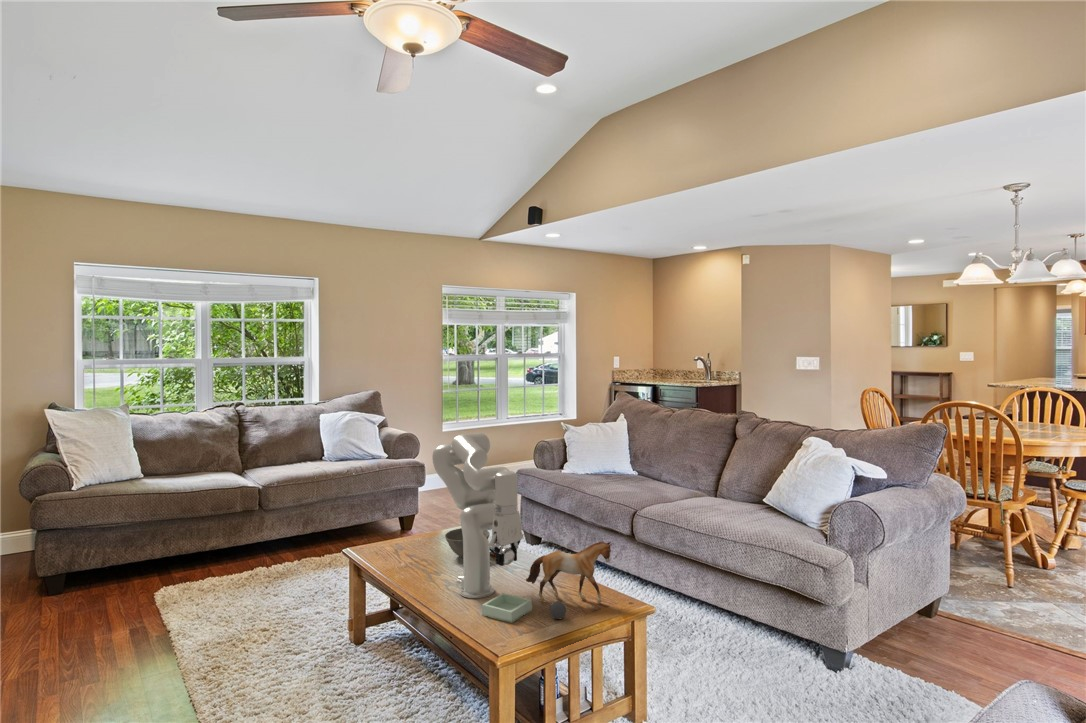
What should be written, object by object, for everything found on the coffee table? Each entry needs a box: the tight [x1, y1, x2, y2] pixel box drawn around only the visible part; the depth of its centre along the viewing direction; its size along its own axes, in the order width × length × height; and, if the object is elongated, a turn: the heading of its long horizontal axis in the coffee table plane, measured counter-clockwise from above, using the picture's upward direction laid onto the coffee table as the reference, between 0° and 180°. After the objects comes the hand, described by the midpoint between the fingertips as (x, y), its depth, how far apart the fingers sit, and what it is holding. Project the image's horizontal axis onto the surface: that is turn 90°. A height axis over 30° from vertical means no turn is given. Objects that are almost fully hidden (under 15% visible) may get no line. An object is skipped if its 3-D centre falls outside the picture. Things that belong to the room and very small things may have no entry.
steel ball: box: [502, 547, 515, 566], centre depth 217 cm, size 6×6×6 cm
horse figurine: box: [525, 541, 613, 605], centre depth 227 cm, size 31×8×21 cm, turn 81°
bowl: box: [444, 527, 490, 559], centre depth 275 cm, size 19×19×10 cm
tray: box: [481, 592, 533, 624], centre depth 217 cm, size 12×12×4 cm
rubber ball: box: [549, 600, 568, 620], centre depth 212 cm, size 6×6×6 cm
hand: (506, 561), depth 217 cm, fingers closed on steel ball, 5 cm apart
